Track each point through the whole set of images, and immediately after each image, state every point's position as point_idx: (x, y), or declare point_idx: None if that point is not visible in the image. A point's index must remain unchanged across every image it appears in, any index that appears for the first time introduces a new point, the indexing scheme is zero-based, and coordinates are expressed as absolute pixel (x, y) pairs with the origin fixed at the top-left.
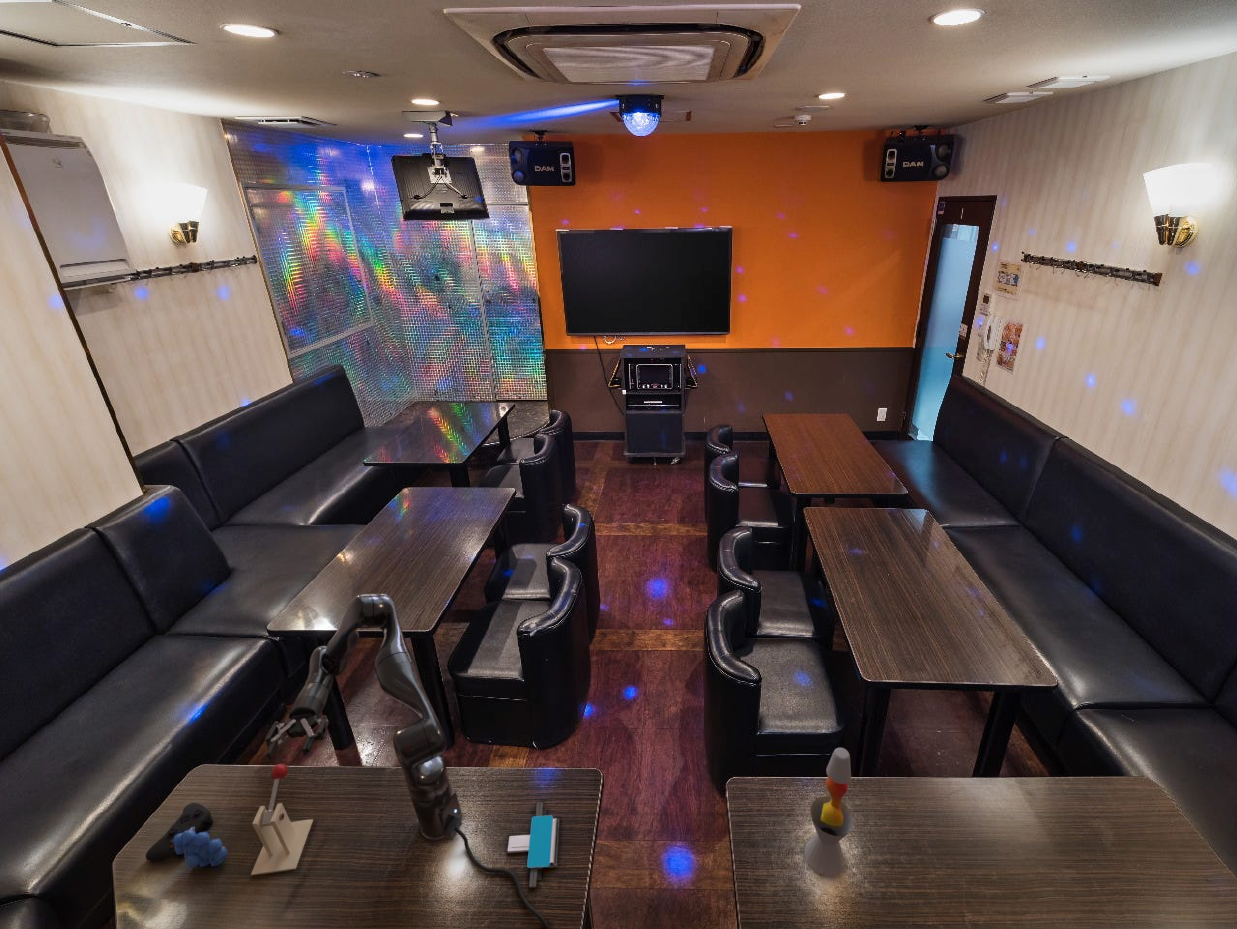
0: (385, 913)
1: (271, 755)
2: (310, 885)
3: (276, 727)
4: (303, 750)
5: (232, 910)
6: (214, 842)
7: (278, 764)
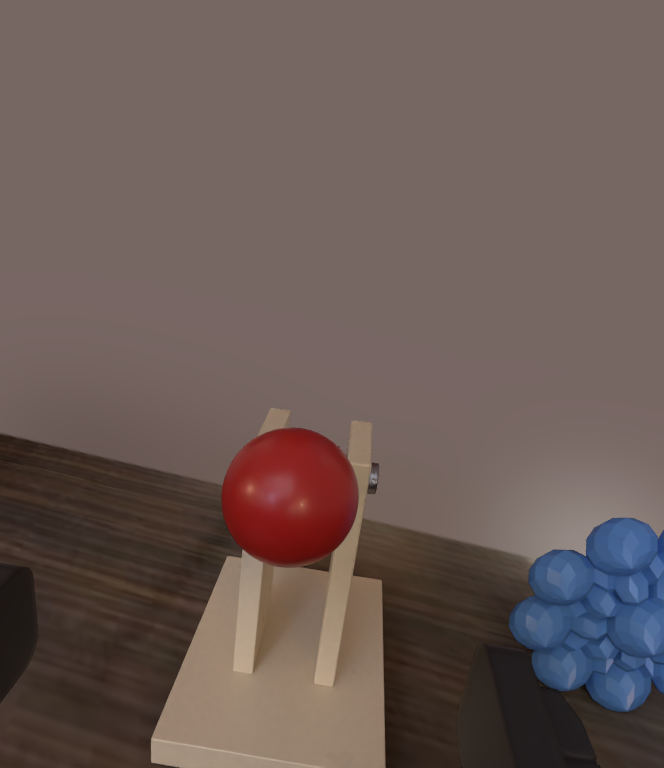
0: (6, 442)
1: (473, 690)
2: (181, 532)
3: None
4: (12, 566)
5: (399, 540)
6: (558, 551)
7: (296, 458)
